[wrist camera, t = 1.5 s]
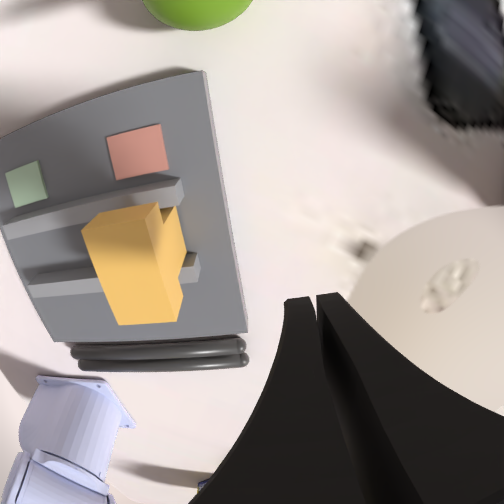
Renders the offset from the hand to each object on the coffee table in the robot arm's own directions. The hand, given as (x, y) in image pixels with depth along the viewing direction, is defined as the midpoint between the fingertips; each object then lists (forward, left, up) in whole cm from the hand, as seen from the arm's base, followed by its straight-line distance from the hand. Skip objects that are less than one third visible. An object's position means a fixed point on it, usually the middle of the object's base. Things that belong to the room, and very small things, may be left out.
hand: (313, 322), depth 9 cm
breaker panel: (-11, -2, -10) cm, 15 cm away
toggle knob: (-7, 0, -9) cm, 11 cm away
